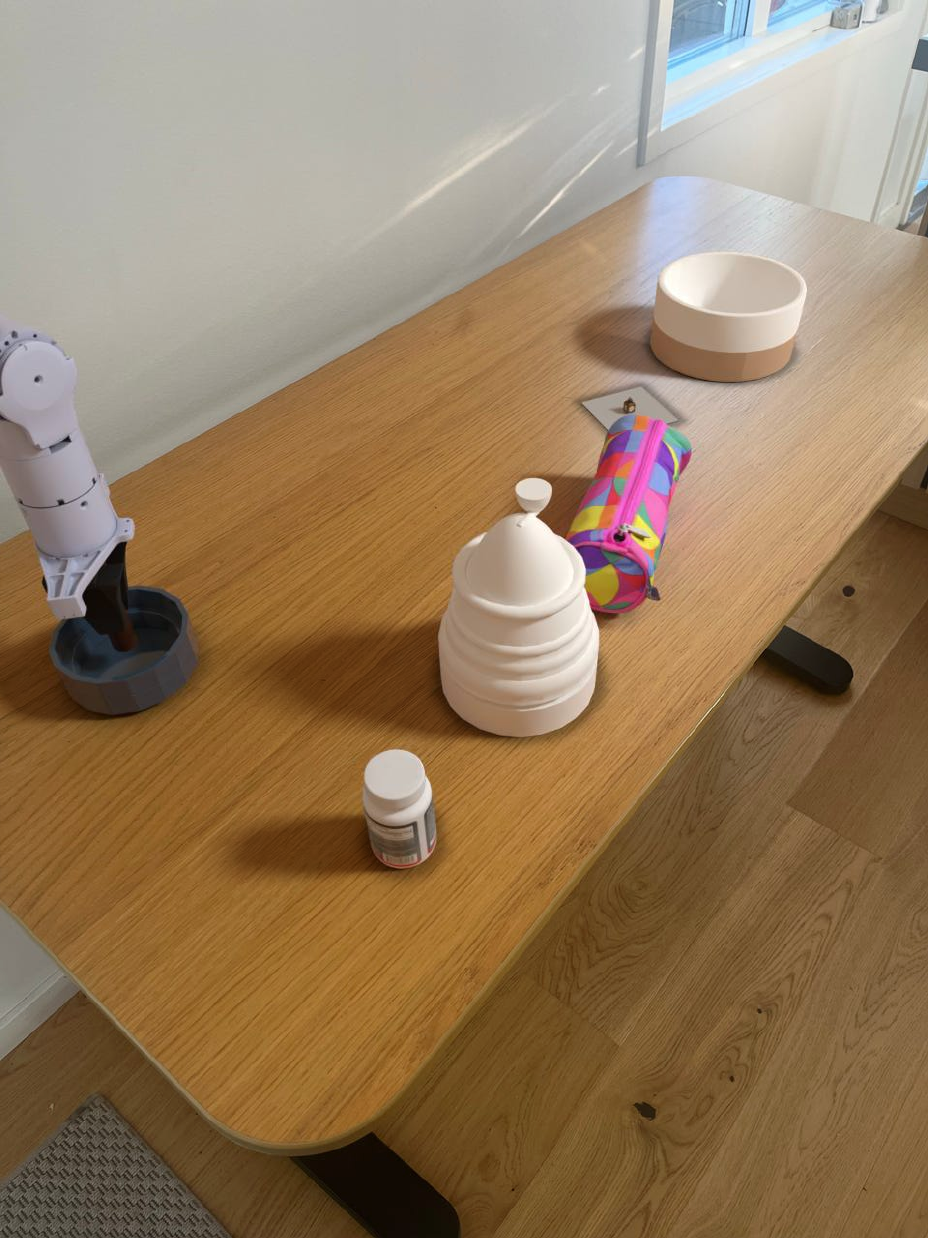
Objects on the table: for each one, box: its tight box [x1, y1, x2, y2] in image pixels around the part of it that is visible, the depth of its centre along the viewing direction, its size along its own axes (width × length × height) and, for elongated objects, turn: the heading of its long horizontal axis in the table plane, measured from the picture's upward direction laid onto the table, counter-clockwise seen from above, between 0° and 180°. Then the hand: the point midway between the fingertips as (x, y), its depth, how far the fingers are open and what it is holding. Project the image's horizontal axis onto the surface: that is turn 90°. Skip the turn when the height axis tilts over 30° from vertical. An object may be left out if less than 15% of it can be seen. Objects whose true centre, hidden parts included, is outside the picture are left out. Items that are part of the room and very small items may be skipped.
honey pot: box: [437, 477, 601, 738], centre depth 70 cm, size 13×13×18 cm
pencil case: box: [564, 415, 693, 614], centre depth 84 cm, size 22×9×9 cm, turn 163°
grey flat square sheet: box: [581, 386, 679, 431], centre depth 103 cm, size 8×8×2 cm
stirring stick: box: [103, 561, 138, 652], centre depth 72 cm, size 2×2×10 cm
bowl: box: [649, 251, 808, 383], centre depth 110 cm, size 17×17×8 cm
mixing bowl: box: [48, 584, 200, 716], centre depth 76 cm, size 11×11×4 cm
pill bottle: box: [361, 748, 438, 869], centre depth 62 cm, size 5×5×8 cm
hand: (114, 619), depth 74 cm, fingers closed on stirring stick, 2 cm apart
